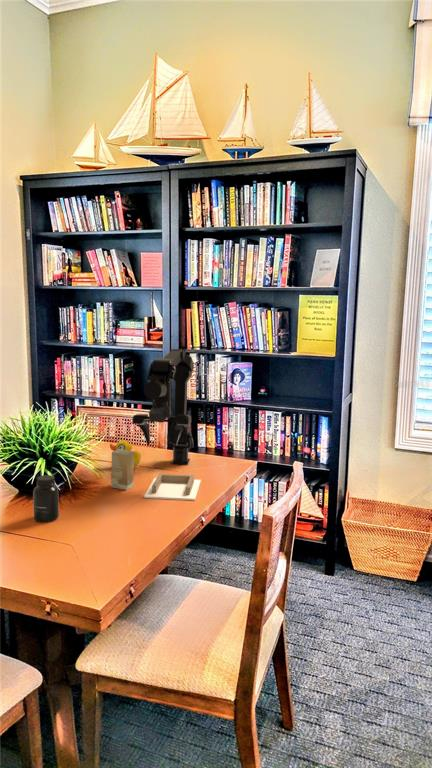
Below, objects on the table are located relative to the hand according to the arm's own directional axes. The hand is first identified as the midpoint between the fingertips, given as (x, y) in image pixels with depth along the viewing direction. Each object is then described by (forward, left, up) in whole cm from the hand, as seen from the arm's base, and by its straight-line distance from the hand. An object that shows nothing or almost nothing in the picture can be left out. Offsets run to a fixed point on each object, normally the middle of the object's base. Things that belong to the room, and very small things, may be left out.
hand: (162, 445), depth 183 cm
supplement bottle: (+31, -28, -14) cm, 44 cm away
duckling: (-18, -17, -14) cm, 29 cm away
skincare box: (+3, -13, -14) cm, 19 cm away
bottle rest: (+3, +4, -14) cm, 15 cm away
